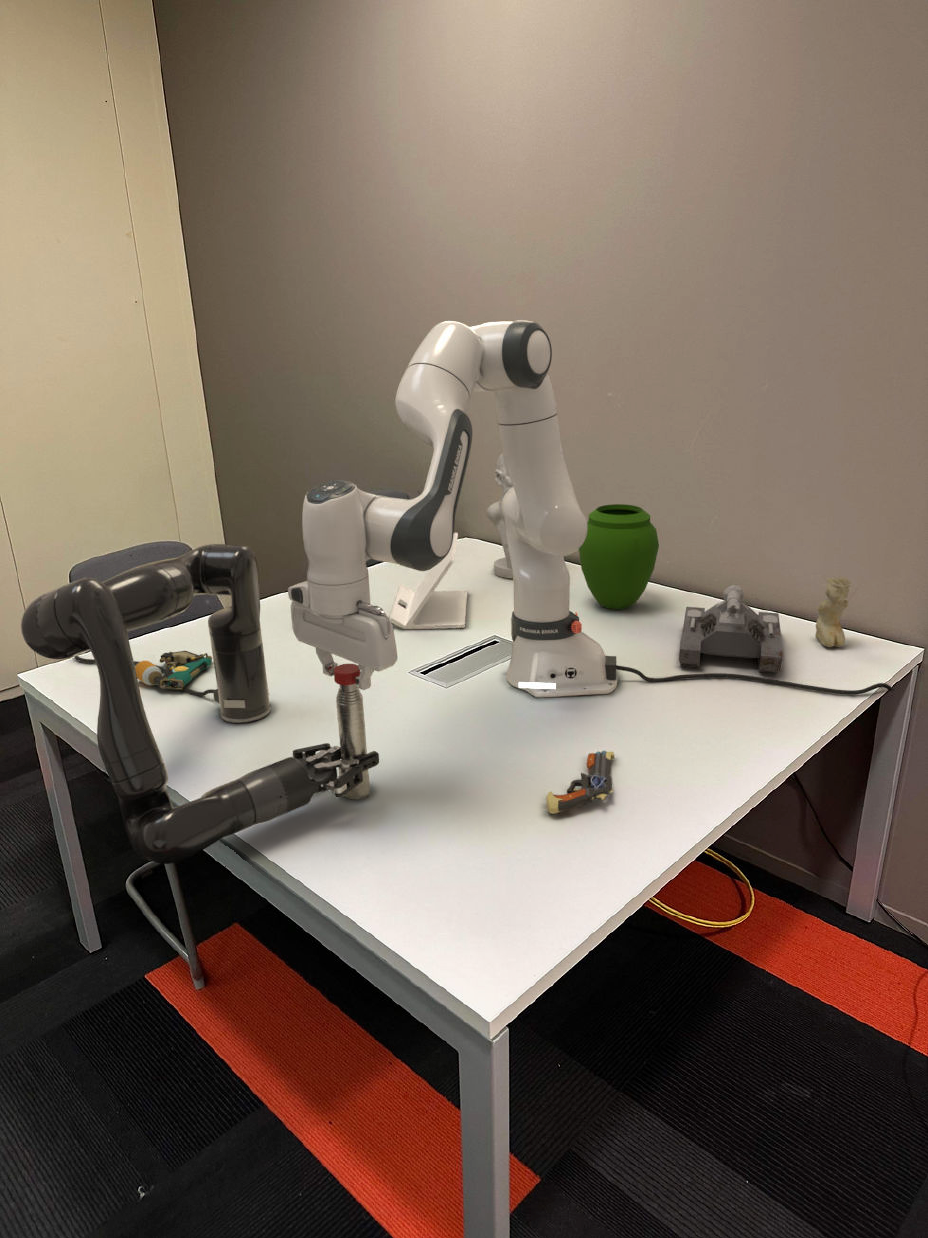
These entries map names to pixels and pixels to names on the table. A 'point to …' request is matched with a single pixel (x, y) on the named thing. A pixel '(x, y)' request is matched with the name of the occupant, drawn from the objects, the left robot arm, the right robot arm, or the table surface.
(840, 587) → the sculpture
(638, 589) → the vase
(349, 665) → the cap
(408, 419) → the right robot arm
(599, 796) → the toy gun
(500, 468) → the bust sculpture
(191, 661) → the spray gun
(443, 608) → the tablet stand
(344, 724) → the bottle
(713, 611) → the toy
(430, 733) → the table surface
